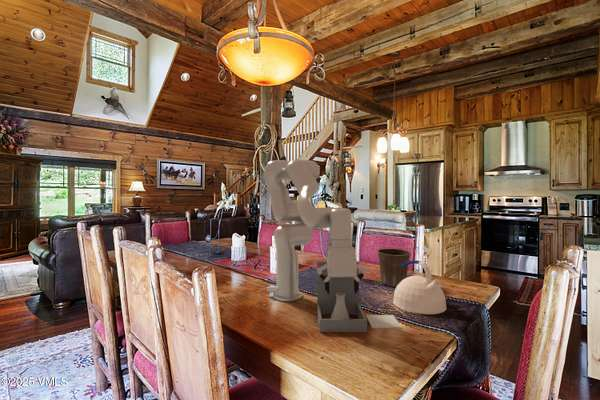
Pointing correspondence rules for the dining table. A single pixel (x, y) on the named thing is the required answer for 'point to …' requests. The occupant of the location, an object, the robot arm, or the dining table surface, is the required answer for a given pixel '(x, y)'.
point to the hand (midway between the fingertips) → (341, 292)
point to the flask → (340, 308)
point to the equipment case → (329, 301)
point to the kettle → (420, 293)
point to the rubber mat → (383, 321)
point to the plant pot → (393, 265)
